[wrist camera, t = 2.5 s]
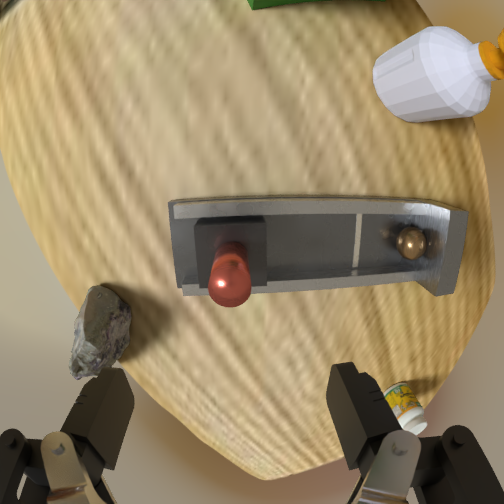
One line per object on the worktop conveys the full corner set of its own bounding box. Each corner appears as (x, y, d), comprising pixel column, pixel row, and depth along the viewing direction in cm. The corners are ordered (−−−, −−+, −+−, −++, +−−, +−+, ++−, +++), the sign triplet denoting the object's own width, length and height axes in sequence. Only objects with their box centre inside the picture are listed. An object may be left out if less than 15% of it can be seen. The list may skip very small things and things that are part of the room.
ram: (199, 218, 26) (178, 248, 17) (262, 215, 26) (276, 244, 17) (203, 273, 27) (189, 325, 18) (263, 271, 28) (275, 322, 19)
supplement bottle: (375, 402, 39) (395, 442, 29) (391, 381, 37) (415, 421, 28) (396, 402, 39) (417, 438, 30) (412, 381, 38) (436, 417, 29)
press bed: (171, 200, 27) (149, 213, 20) (430, 199, 28) (471, 211, 21) (180, 282, 30) (164, 317, 22) (421, 268, 31) (456, 292, 24)
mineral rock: (95, 366, 33) (69, 412, 24) (51, 308, 30) (13, 347, 21) (159, 344, 32) (138, 400, 23) (111, 273, 29) (69, 316, 19)
